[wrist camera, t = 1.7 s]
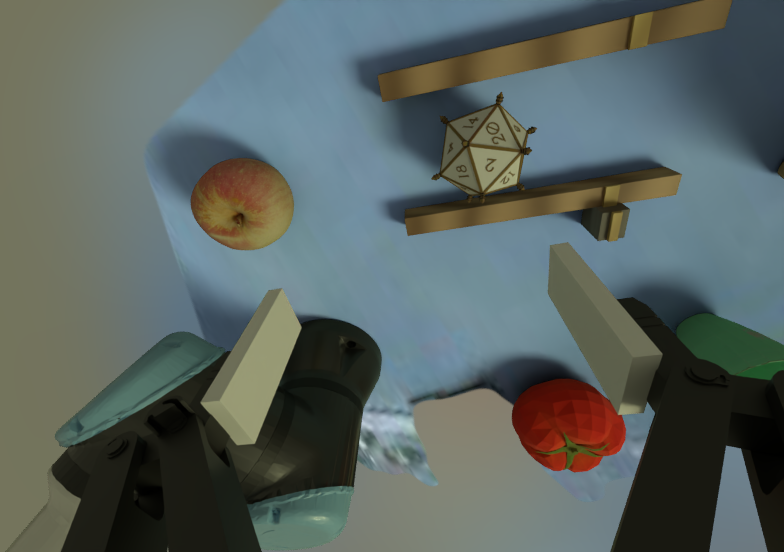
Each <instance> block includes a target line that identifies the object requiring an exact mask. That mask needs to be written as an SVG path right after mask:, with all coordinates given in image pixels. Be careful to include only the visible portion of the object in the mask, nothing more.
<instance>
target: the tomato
mask: <svg viewBox="0 0 784 552" xmlns="http://www.w3.org/2000/svg"><path fill="white" fill-rule="evenodd" d="M512 423H513V426H514V429H515V431H516V433H517V434H518V436H519V438H520V441H521V444H522V445H523V447H524V448H525V449H526V451H527V452H528V453H529V454H530V455H531V456H532V457H533V458H534V459H535V460H536V461H538V462H539V463H540V464H542V465H543V466H545V467H547V468H549V469H551V470H553V471H561V470H565V469H569V470H571V471H573V472H583V471H588V470H590V469H592V468H594V467H595V466H597V465H599V463H600V461H601V459H602V457H603V456H609V455H613V454H616V453H617V452H619V451H620V449H621V447H622V445H623V443H624V441H625V434H626V428H625V424H624V421H623V418H622V415H618V414H617V412H616V411H615V409H614V407H613V405H612V404H611V402H610V400H608V399H607V398H605V397H604V396H603V395H602V394H601V393H600V392H599V391H598V390H597V389H595V388H594V387H593V386H591V385H589V384H588V383H584V382H581V381H578V380H574V379H555V380H551V381H547V382H544V383H540V384H537V385H533V386H531V387H530V388H528V389H527V390H526V391H524V392H523V393H522V394H521V395H520V396H519V397H518V399H517V401H516V402H515V404H514V407H513V410H512Z"/></svg>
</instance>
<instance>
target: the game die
mask: <svg viewBox="0 0 784 552" xmlns="http://www.w3.org/2000/svg"><path fill="white" fill-rule="evenodd" d="M503 98H504V97H503V94H502V92H501V93H500V94H499V95H497V99H496V104H494V105H491V106H488V107H486V108H483V109H480V110H478V111H475V112H473V113H470V114H467V115H465V116H462V117H459V118H457V119H454V120H451V121H448V119H447V118H446V117H445V116H440V119H441V122H443V124H446V132H445V139H444V146H443V153H442V160H441V167H440V173H439V174H436V175H434V176H433V177H432V178H431V179H432V180H437V179H439V178H440V177H443V178H444V179H446V180H447V181H449V182H450V183H452V184H453V185H455V186H456V187H458V188H460V189H461V190H463V191H464V192H466V193H467V194H469V196H467V197H468V198H467V200H468V203H469V202H471V201H472V198H473V196H476V195H480V196H479V197H480V198H479V201H480V202H481V203H483V202H484V201H485V200H486V199H485V198H486V196H485V195H486V194H489V193H492V192H496V191H499V190H502V189H506V188H509V187H512V186H517V189H519V190H525V189H524V185H522V184H520V183H519V179H520V174H521V169H522V163H523V158H524V155H526V154H527V155H528V154H529V153H530V152H531V151H532V150H531V149H530V147H528V148H526V143H527V138H528V134H532V133H534V132H535V131H536V129H537V128H536V127H531V128H529V129H528V130H527V131H526V130H525V129H524V128H523V127H522V126H521V125H520V124H519V123H518V122H517V121H516V120H515V119H514V118H513V117H512V116H511V115H510V114H509V113H508V112H507V111H506V110H505V109H504V108H503V107H502V106H501V105H500V104H501V102H503Z"/></svg>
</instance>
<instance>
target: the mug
mask: <svg viewBox="0 0 784 552" xmlns="http://www.w3.org/2000/svg"><path fill="white" fill-rule="evenodd" d="M676 335H677V337H678V338H679V339H680V341H681V342H682V343H683V344H684V345H685V346H686V347H687V348H688V349H689V350H690V351H691V352H692V353H693V354H694V355H695V356H696V357H697V358H699V359H704V360H707V361H710V362H712V363H715V364H717V365H719V366H720V367H722V368H723V369H725V370H726V371H728V373H729V374H731V375H736V376H743V377H750V378H758V379H766V380H771V378H772V377H773V375H774V374H775V373H777V372H778V371H780V370H784V345H782V344H781V343H779V342H777V341H774V340H772V339H770V338H768V337H766V336H764V335H762V334H760V333H758V332H756V331H753V330H751V329H749V328H746V327H744V326H742V325H740V324H737V323H735V322H732V321H729V320H727V319H724V318H721V317H718V316H715V315H713V314H709V313H702V314H697V315H694V316H691V317H689V318H687V319H685V320H684V321H683V322H681V323H680V324H679V326H678V327H677V330H676Z"/></svg>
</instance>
